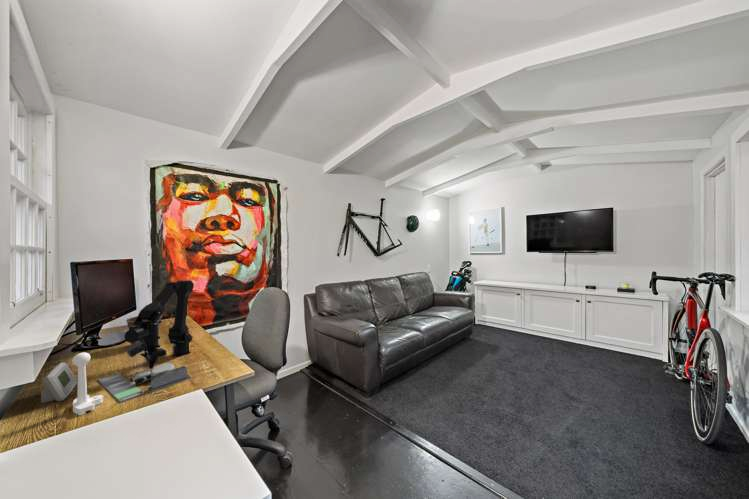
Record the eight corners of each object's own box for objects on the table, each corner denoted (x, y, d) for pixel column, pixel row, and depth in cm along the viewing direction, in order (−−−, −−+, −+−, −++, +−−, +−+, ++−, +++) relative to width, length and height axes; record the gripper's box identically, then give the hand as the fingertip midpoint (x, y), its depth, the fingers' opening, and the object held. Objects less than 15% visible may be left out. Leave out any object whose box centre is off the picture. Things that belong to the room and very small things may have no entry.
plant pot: (168, 342, 164) (168, 316, 164) (136, 352, 150) (135, 322, 149) (152, 338, 171) (152, 313, 171) (120, 347, 156) (120, 319, 156)
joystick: (70, 405, 99) (70, 351, 99) (100, 396, 105) (99, 345, 105) (75, 417, 92) (74, 358, 92) (106, 406, 99) (105, 351, 98)
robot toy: (129, 392, 110) (175, 378, 119) (128, 381, 110) (174, 368, 119) (132, 380, 120) (174, 368, 129) (131, 370, 119) (173, 359, 129)
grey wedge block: (186, 376, 122) (186, 364, 122) (190, 378, 120) (190, 367, 120) (147, 389, 110) (147, 377, 110) (151, 392, 108) (151, 380, 108)
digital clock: (63, 402, 101) (62, 374, 101) (28, 408, 98) (27, 379, 97) (87, 382, 116) (86, 357, 116) (57, 387, 112) (57, 361, 112)
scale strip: (119, 374, 124) (119, 372, 124) (144, 394, 107) (144, 392, 107) (97, 380, 118) (97, 379, 118) (120, 403, 101) (120, 401, 101)
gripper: (120, 336, 125) (121, 370, 125) (135, 344, 115) (135, 381, 115) (150, 330, 134) (151, 361, 134) (166, 336, 124) (167, 371, 124)
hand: (150, 368), depth 127 cm, fingers closed
